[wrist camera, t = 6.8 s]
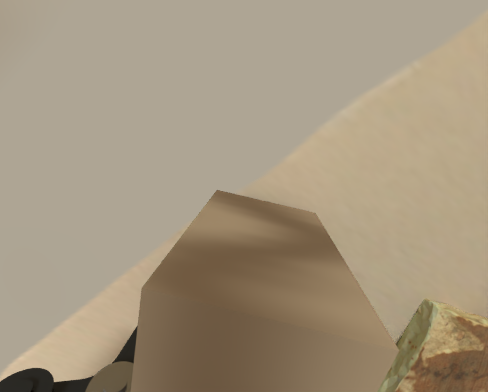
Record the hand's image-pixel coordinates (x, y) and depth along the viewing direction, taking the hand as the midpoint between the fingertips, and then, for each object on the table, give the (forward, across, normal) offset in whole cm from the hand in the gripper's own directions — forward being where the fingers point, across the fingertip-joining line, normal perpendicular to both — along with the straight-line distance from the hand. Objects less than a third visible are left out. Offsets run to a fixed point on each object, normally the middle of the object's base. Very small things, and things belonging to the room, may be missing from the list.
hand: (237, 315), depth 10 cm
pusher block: (+1, 0, 0) cm, 1 cm away
